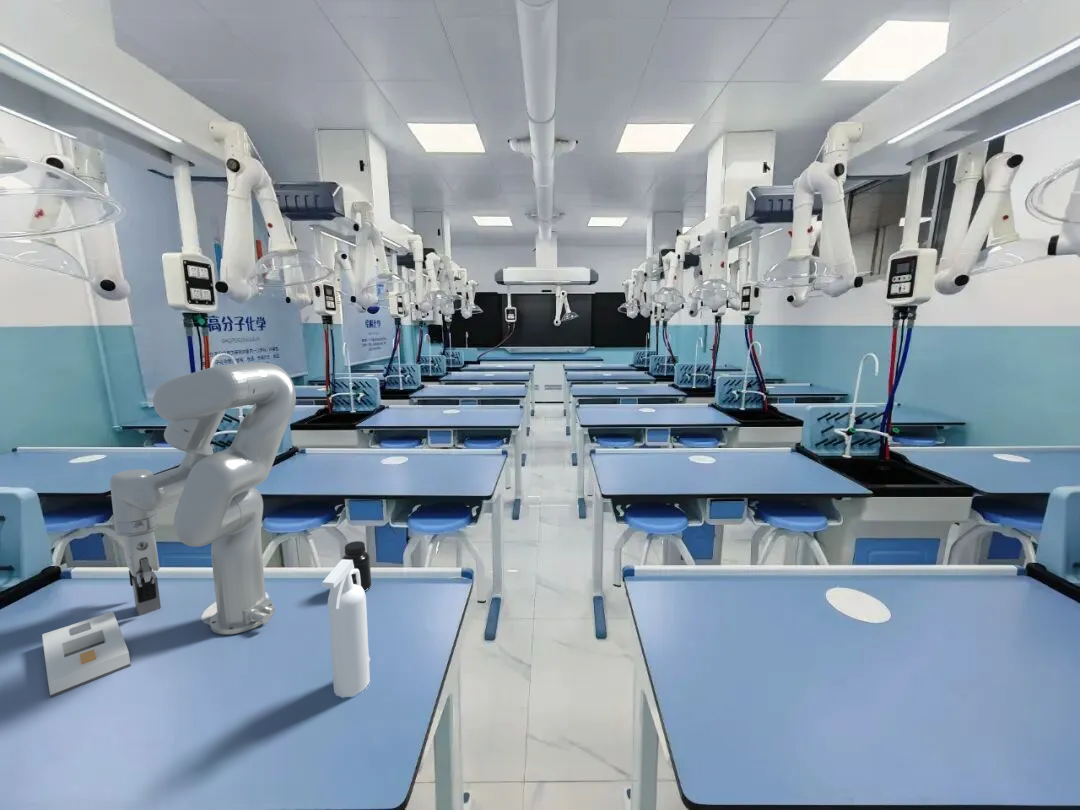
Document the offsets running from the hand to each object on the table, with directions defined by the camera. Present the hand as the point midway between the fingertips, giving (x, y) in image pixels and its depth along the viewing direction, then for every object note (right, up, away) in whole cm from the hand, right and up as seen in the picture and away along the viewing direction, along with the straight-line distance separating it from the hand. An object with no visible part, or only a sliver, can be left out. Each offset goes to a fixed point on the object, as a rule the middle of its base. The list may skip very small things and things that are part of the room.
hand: (143, 591), depth 111 cm
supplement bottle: (+47, -4, +10) cm, 48 cm away
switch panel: (+2, -7, -16) cm, 17 cm away
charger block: (+1, -4, +1) cm, 4 cm away
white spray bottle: (+58, -9, -22) cm, 63 cm away
